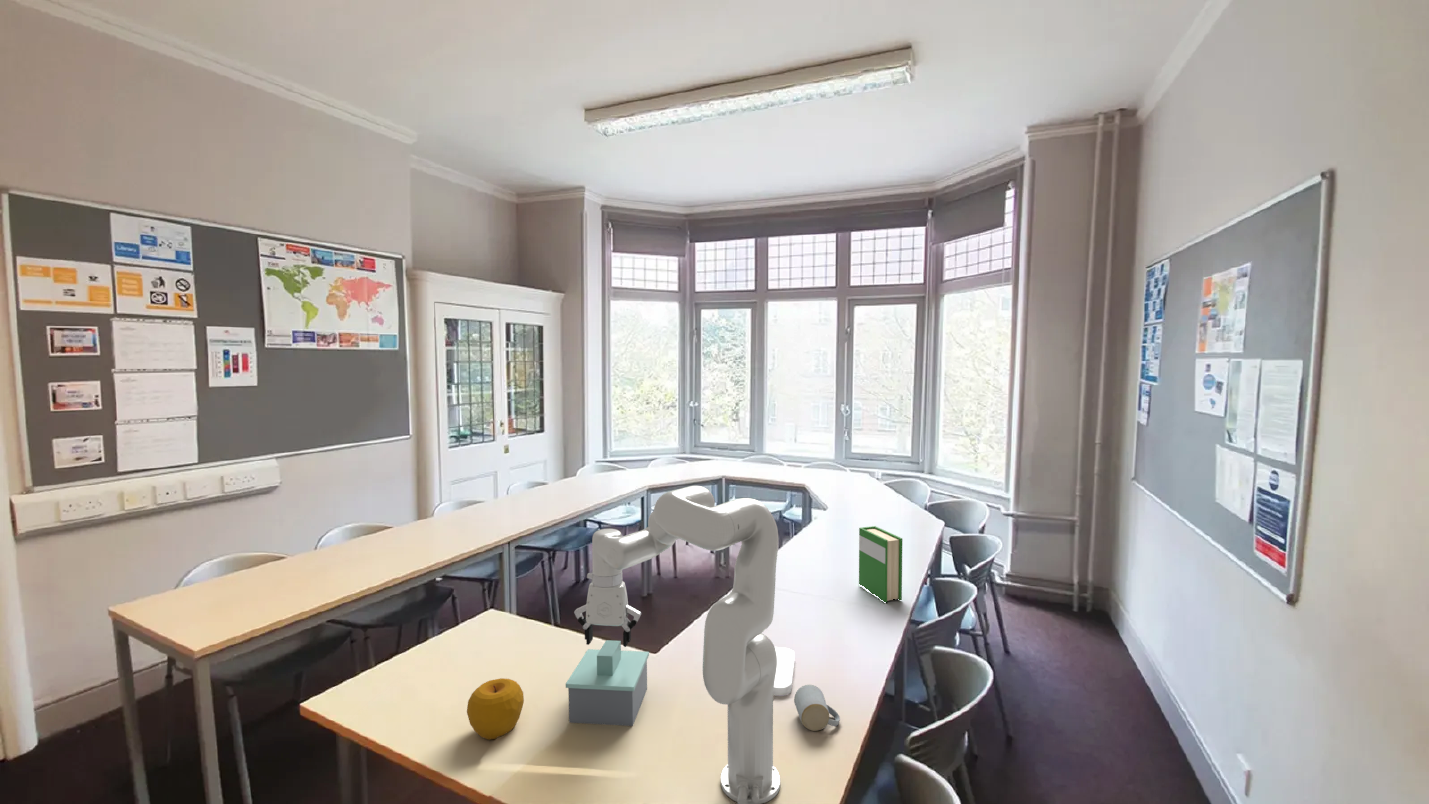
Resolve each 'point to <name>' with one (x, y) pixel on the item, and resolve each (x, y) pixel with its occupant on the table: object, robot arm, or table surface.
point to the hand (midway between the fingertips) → (607, 643)
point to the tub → (607, 704)
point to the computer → (784, 671)
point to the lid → (608, 668)
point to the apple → (495, 707)
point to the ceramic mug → (814, 708)
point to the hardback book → (880, 563)
